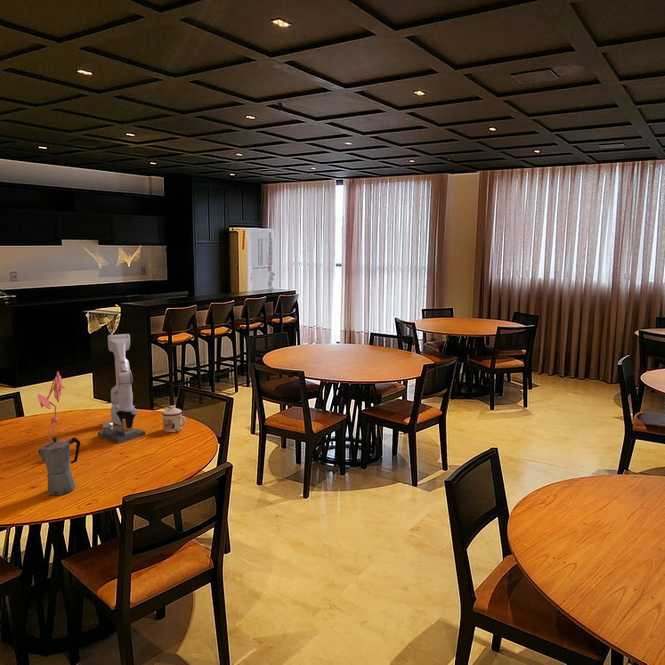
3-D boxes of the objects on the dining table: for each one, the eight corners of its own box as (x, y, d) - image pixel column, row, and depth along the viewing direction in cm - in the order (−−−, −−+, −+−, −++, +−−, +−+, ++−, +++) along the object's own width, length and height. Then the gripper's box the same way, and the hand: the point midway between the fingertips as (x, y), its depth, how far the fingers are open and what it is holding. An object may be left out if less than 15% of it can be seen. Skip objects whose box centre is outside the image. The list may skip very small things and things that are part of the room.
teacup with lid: (158, 431, 274) (157, 407, 272) (170, 425, 282) (169, 402, 280) (180, 434, 269) (179, 410, 267) (191, 429, 278) (190, 405, 276)
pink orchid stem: (37, 466, 231) (32, 380, 225) (49, 445, 255) (45, 366, 250) (79, 463, 235) (75, 378, 230) (87, 442, 259) (84, 365, 254)
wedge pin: (122, 434, 266) (122, 419, 265) (128, 432, 269) (128, 417, 268) (126, 435, 264) (126, 420, 263) (133, 433, 267) (132, 419, 266)
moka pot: (33, 494, 206) (29, 439, 203) (74, 479, 219) (70, 428, 216) (49, 501, 201) (45, 445, 198) (89, 485, 213) (86, 433, 210)
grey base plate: (97, 436, 267) (97, 423, 266) (124, 428, 278) (124, 416, 277) (118, 443, 257) (117, 430, 256) (145, 435, 268) (144, 422, 267)
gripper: (142, 398, 263) (144, 427, 265) (123, 393, 271) (125, 421, 273) (128, 402, 257) (130, 431, 259) (110, 396, 266) (111, 425, 268)
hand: (126, 426), depth 266 cm, fingers closed on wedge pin, 3 cm apart
